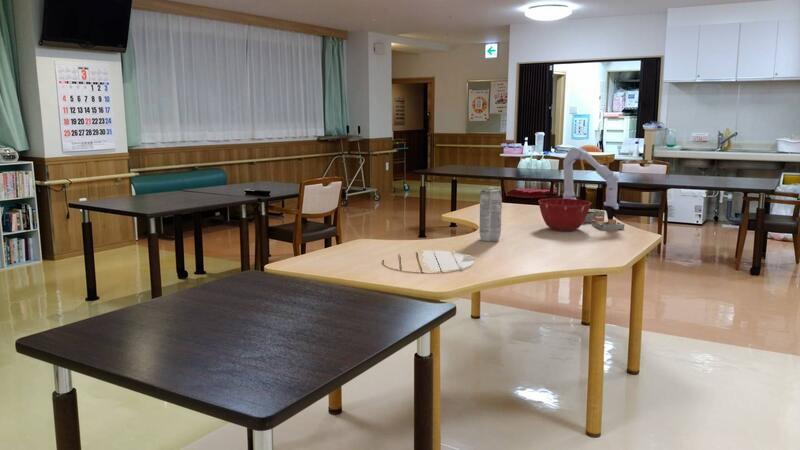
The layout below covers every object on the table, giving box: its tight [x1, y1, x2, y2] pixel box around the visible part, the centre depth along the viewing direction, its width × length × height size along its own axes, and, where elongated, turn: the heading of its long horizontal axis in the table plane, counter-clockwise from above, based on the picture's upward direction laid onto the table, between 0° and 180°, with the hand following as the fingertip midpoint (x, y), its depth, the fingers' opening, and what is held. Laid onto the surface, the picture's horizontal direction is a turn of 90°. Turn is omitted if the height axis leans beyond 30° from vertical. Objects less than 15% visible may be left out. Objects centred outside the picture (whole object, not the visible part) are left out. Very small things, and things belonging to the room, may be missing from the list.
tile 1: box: [594, 216, 605, 221], centre depth 354 cm, size 4×4×2 cm
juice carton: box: [479, 186, 503, 243], centre depth 313 cm, size 9×10×27 cm
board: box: [591, 219, 608, 228], centre depth 354 cm, size 11×8×3 cm
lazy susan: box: [422, 250, 476, 272], centre depth 269 cm, size 40×39×3 cm
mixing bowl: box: [538, 198, 592, 232], centre depth 344 cm, size 28×28×15 cm
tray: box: [595, 221, 625, 231], centre depth 346 cm, size 13×8×3 cm, turn 96°
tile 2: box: [607, 218, 617, 225], centre depth 349 cm, size 4×4×2 cm
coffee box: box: [582, 208, 606, 224], centre depth 370 cm, size 9×6×16 cm
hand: (610, 220), depth 351 cm, fingers closed
